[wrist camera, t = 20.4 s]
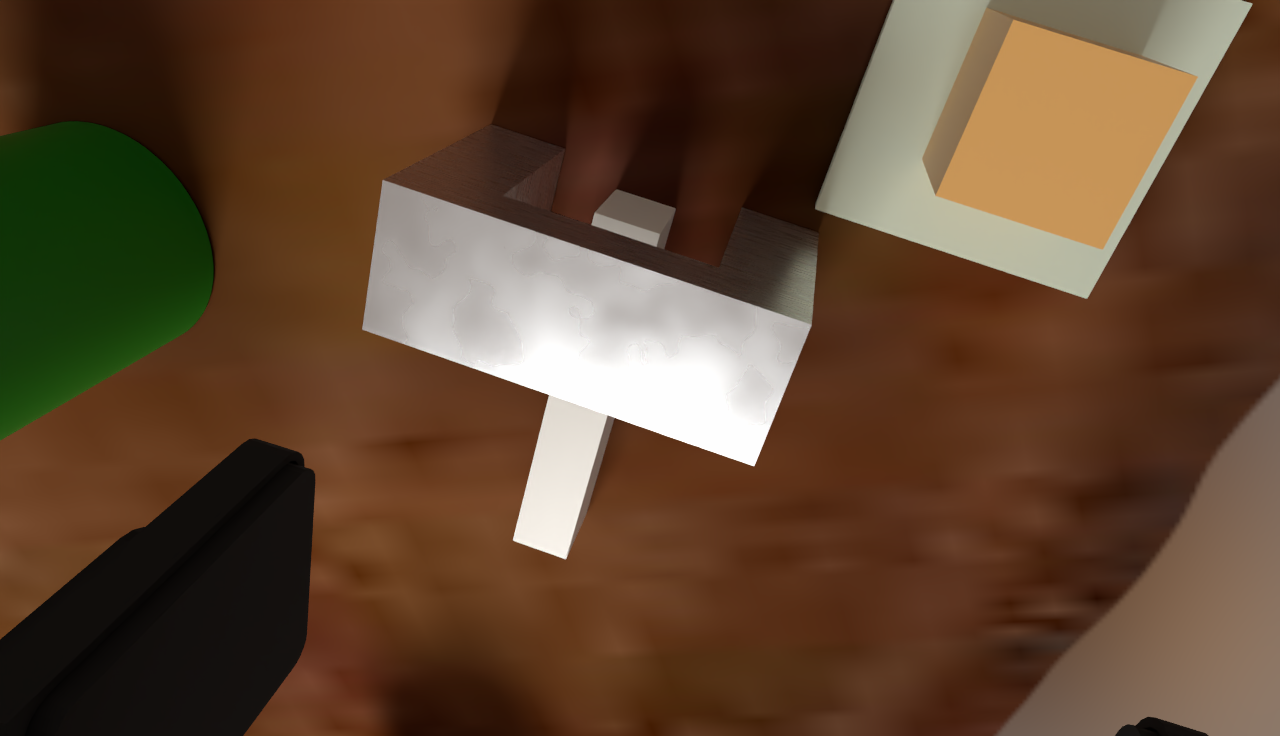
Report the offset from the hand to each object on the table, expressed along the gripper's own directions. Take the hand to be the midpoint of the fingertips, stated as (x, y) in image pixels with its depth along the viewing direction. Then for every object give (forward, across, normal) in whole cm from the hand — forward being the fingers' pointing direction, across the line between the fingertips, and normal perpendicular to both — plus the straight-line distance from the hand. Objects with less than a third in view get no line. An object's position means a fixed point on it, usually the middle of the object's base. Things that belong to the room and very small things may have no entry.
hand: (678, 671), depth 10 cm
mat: (+25, -7, -4) cm, 26 cm away
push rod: (+25, +5, +10) cm, 28 cm away
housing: (+25, +5, +4) cm, 26 cm away
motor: (+25, +27, +11) cm, 39 cm away
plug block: (+24, -7, -4) cm, 25 cm away
